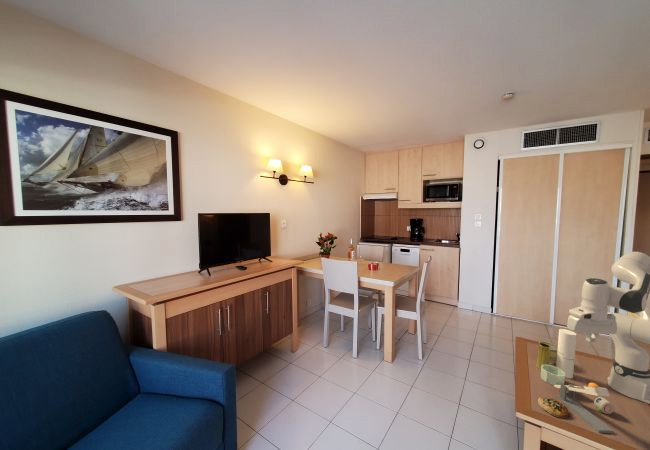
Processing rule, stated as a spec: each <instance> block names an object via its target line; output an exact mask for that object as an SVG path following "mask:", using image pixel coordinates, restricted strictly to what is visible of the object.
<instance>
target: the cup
mask: <svg viewBox="0 0 650 450" xmlns="http://www.w3.org/2000/svg"><path fill="white" fill-rule="evenodd" d="M540 379H541V380H543V382H545V383H547V384H548V385H551V386H554V385H561V384H564V385H565V379H566V378H565V372H563V371H562V370H561V369H559V368H557V367H556V366H554V365H552V364H550V365H542V366H541V370H540Z"/></svg>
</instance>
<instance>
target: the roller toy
mask: <svg viewBox="0 0 650 450" xmlns="http://www.w3.org/2000/svg"><path fill="white" fill-rule="evenodd" d="M593 404H594V406H595V408H596V409H597V410H598V412H599V413H601V414H602V413H603V414H606V415H611V414H612V413H614V412H615V411H614V410H615V406H614V404H613V403H612V402H610V401H609V400H608V399H606V398H605V397H604V396H597V397H596V398H595V399H594V401H593Z"/></svg>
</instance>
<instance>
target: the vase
mask: <svg viewBox="0 0 650 450" xmlns="http://www.w3.org/2000/svg"><path fill="white" fill-rule="evenodd" d="M537 348H538V349H537V357H536V364H535V367H536V368H537V369H538V370H540V371H541V366H542V365H551V364H550V346H549V345H547V344H545V343H539V342H538V347H537Z"/></svg>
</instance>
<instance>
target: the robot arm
mask: <svg viewBox="0 0 650 450" xmlns="http://www.w3.org/2000/svg"><path fill="white" fill-rule="evenodd" d="M610 271H611V273H612V275H614V277H615V278H616V279H618V280H619V281H622V282H624V283H627V284H630V285H633V286H632V288H631V289H630V288H623V287H617V286H615V285H614V286H613V285H609V282H608V281H607V280H605V279H601V278H596V277H595V278H592V277H591V278H586V279H585V280H584V282H583V284H582V288H581V299H582V300H581V302H580V306H577V307H574V308H570V309H569V310H568V314H570V315H568V318H567V323H566V324H567V330H570V331H572V332H575V333H576V334H577V333H578V334H584V336H585V341H587V342H589V343H596V342H597V339H598V338H599V336H600V335H601V334H604V335H605V334H606V335H609V336H610V338H611V339H612V341H613V344H614V351H615V352H614V358H613V360H612V366H611V369H610V373H609V376H607V384H608V386H609V387H610V388H612V389H613V390H614V391H616V392H617V393H620V394H622V395H624V396H627V397H629V398H632V399H635V400H637V401H638V400H639V401H641V402H644V403H645V404H648V405H650V368H649V367H650V366H649V365H650V355H649V353H648V352H647V351H646V350H645V349H644V348H642V347H641V346H640V345H638V344H637V343H636V342H635V341H637V342H641V343H644V344H648V345H650V256H649V255H648V254H646V253H644V252H640V251H630V252H627V253H625V254H624V255H622V256H620V257H619V258H618V259H617V260H615V262H614V263H613V264H612V265H611V270H610ZM608 307H611V308H616V309H620V310H623V311H626V312H629V313H631V314H636V315H637V316H639V317H633V316H631V315H630V316H629V315H626V314H621V313H618V312H611V311H609V308H608ZM634 340H635V341H634Z"/></svg>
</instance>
